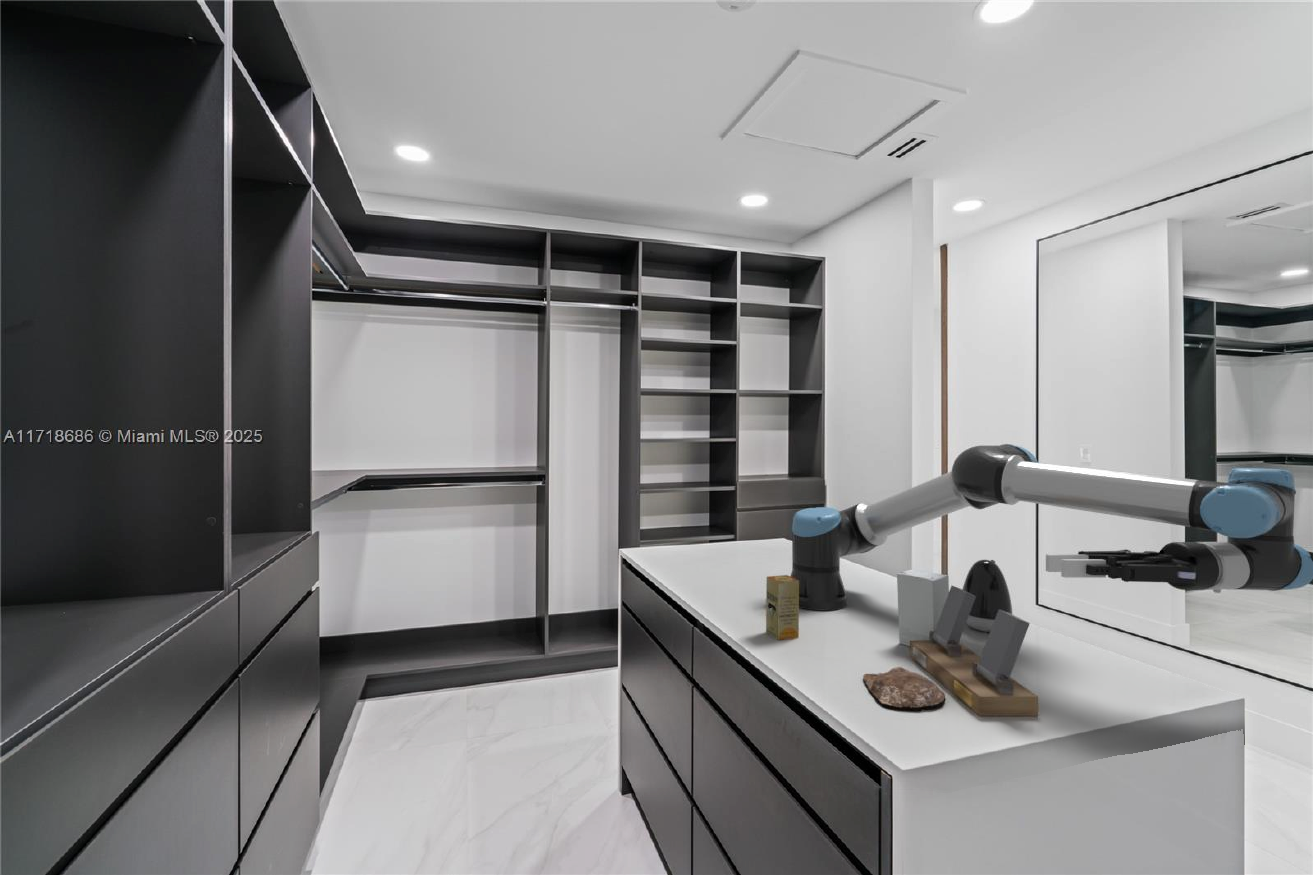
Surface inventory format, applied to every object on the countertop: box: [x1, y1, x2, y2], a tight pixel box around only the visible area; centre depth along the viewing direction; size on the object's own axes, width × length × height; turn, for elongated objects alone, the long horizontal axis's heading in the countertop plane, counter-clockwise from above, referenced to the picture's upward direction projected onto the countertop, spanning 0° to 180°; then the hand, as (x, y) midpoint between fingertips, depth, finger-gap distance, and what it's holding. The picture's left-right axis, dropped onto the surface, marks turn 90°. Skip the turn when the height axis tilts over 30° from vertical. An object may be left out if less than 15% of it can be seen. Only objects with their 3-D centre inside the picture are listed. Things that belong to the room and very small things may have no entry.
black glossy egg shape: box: [962, 559, 1013, 633], centre depth 130 cm, size 10×10×15 cm
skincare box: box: [896, 568, 950, 648], centre depth 119 cm, size 8×6×15 cm
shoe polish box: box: [765, 574, 800, 641], centre depth 125 cm, size 5×5×12 cm
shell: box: [862, 666, 947, 712], centre depth 97 cm, size 12×13×4 cm
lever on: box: [977, 610, 1030, 686], centre depth 94 cm, size 5×2×11 cm, turn 1°
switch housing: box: [909, 631, 1039, 717], centre depth 102 cm, size 24×9×5 cm, turn 1°
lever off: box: [932, 585, 976, 650], centre depth 109 cm, size 5×2×11 cm, turn 1°
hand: (1055, 565), depth 94 cm, fingers open, 3 cm apart
